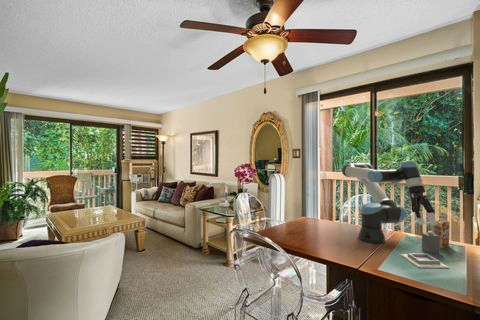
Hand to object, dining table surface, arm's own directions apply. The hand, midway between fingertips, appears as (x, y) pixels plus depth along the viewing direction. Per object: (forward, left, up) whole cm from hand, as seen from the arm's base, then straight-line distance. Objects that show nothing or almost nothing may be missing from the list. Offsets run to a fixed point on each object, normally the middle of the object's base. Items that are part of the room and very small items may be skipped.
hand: (428, 224), depth 124 cm
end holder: (+6, -6, -18) cm, 20 cm away
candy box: (-15, +19, -18) cm, 30 cm away
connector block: (-7, +7, -18) cm, 20 cm away
